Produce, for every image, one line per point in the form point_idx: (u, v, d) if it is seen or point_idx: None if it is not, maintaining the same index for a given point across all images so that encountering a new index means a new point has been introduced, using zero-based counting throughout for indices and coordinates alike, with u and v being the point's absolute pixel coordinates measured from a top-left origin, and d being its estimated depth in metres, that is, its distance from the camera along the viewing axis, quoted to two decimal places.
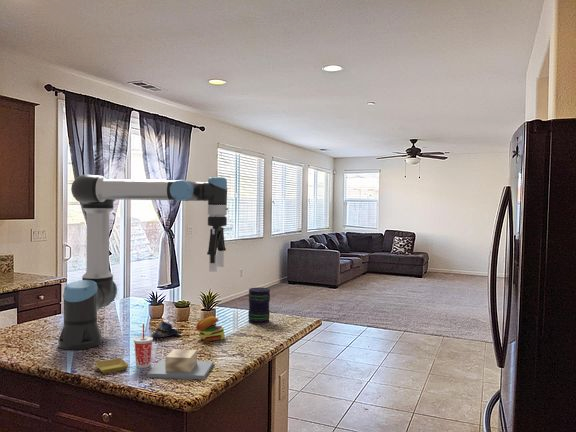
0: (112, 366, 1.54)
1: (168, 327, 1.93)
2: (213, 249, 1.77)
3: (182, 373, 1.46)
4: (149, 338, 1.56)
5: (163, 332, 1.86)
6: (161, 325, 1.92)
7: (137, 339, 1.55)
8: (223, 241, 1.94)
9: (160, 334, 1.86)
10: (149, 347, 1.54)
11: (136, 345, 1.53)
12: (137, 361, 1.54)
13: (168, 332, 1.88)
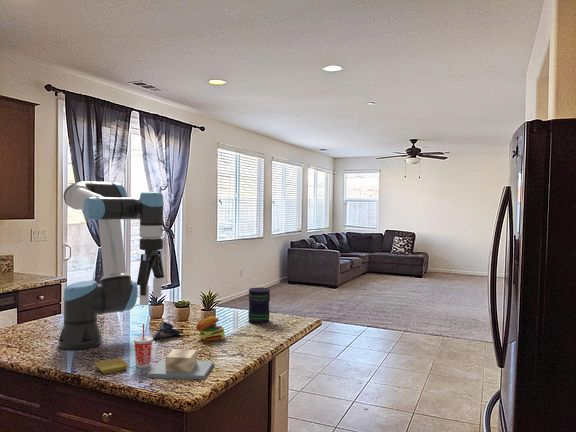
0: (112, 366, 1.54)
1: (169, 327, 1.93)
2: (143, 279, 1.48)
3: (182, 373, 1.46)
4: (149, 338, 1.56)
5: (166, 332, 1.86)
6: (162, 325, 1.92)
7: (137, 339, 1.55)
8: (161, 266, 1.65)
9: (162, 334, 1.86)
10: (149, 347, 1.54)
11: (136, 345, 1.53)
12: (137, 361, 1.54)
13: (170, 332, 1.88)
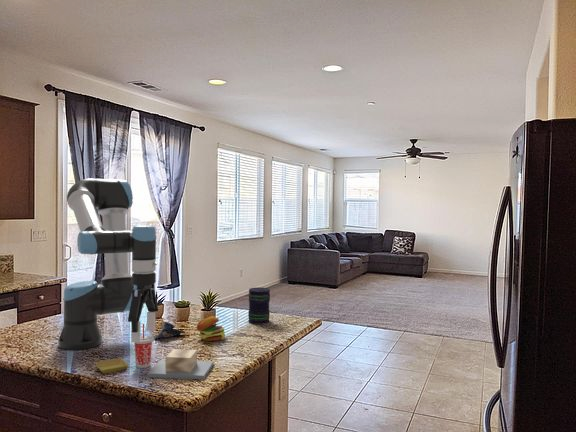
0: (112, 366, 1.54)
1: (170, 327, 1.93)
2: (134, 316, 1.45)
3: (182, 373, 1.46)
4: (149, 338, 1.56)
5: (168, 332, 1.86)
6: (163, 326, 1.92)
7: None
8: (155, 300, 1.62)
9: (165, 334, 1.86)
10: (149, 347, 1.54)
11: (136, 345, 1.53)
12: (137, 361, 1.54)
13: (172, 332, 1.88)
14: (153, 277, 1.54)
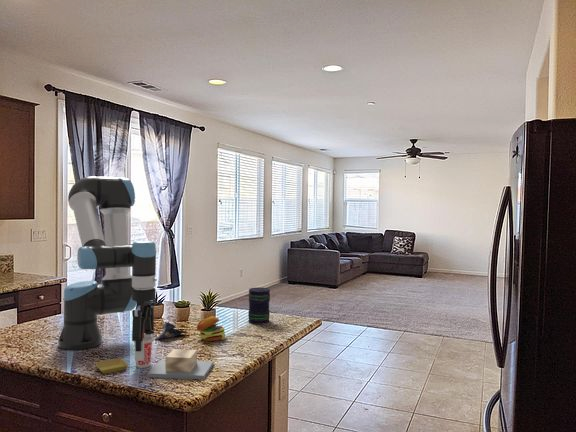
0: (112, 366, 1.54)
1: (171, 327, 1.93)
2: (138, 336, 1.49)
3: (182, 373, 1.46)
4: (149, 338, 1.56)
5: (170, 333, 1.86)
6: (165, 326, 1.91)
7: None
8: (152, 320, 1.61)
9: (167, 335, 1.86)
10: (149, 347, 1.54)
11: None
12: (137, 361, 1.54)
13: (174, 332, 1.88)
14: (153, 293, 1.54)
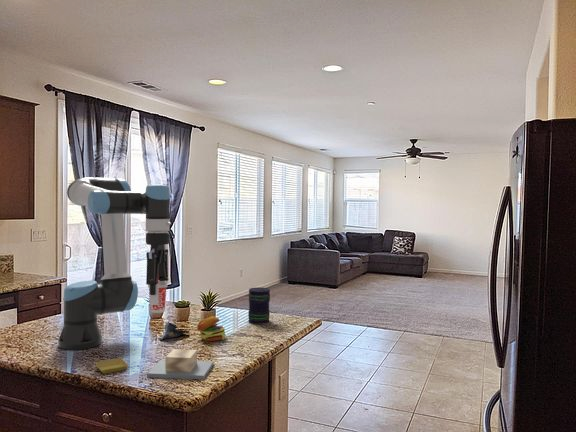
0: (112, 366, 1.54)
1: (173, 328, 1.92)
2: (152, 279, 1.46)
3: (182, 373, 1.46)
4: (163, 284, 1.54)
5: (174, 333, 1.86)
6: (167, 326, 1.91)
7: None
8: (166, 267, 1.58)
9: (171, 335, 1.86)
10: (163, 292, 1.52)
11: None
12: (151, 306, 1.51)
13: (178, 332, 1.88)
14: (167, 237, 1.51)
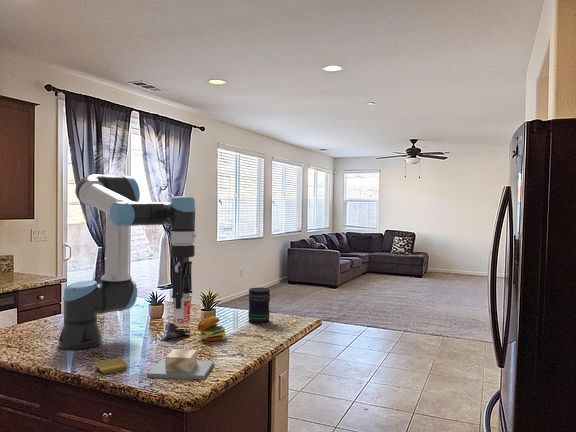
0: (112, 366, 1.54)
1: (174, 328, 1.93)
2: (178, 293, 1.44)
3: (182, 373, 1.46)
4: (188, 296, 1.52)
5: (176, 332, 1.86)
6: (168, 326, 1.91)
7: None
8: (190, 279, 1.56)
9: (173, 335, 1.86)
10: (188, 305, 1.50)
11: None
12: (176, 319, 1.49)
13: (179, 332, 1.88)
14: (192, 249, 1.49)
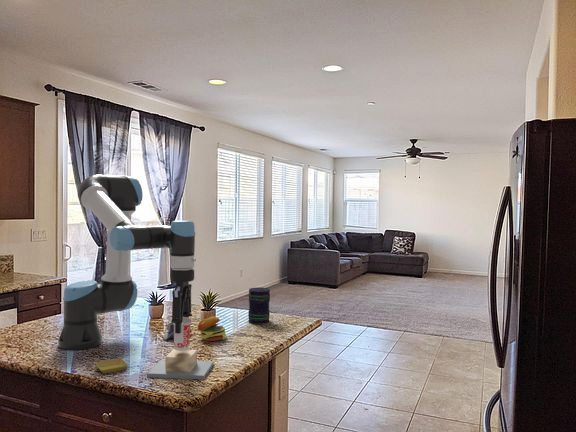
0: (112, 366, 1.54)
1: None
2: (178, 318, 1.44)
3: (182, 373, 1.46)
4: (188, 320, 1.52)
5: None
6: (169, 326, 1.91)
7: None
8: (189, 302, 1.56)
9: None
10: (188, 329, 1.50)
11: None
12: (176, 344, 1.49)
13: None
14: (192, 273, 1.49)
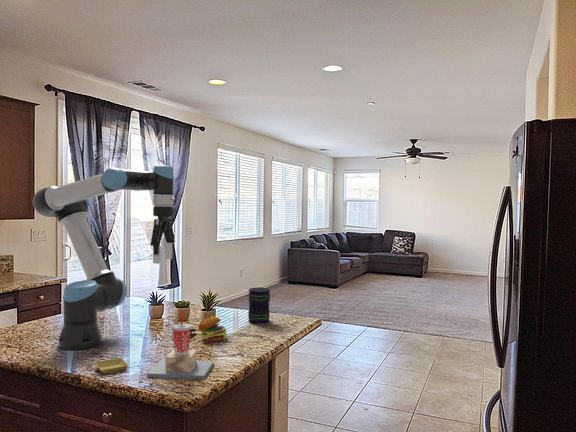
0: (112, 366, 1.54)
1: None
2: (156, 240, 1.70)
3: (182, 373, 1.46)
4: (187, 325, 1.52)
5: None
6: None
7: (175, 326, 1.51)
8: (172, 232, 1.87)
9: None
10: (188, 334, 1.50)
11: (175, 332, 1.49)
12: (176, 349, 1.49)
13: None
14: (171, 210, 1.78)
